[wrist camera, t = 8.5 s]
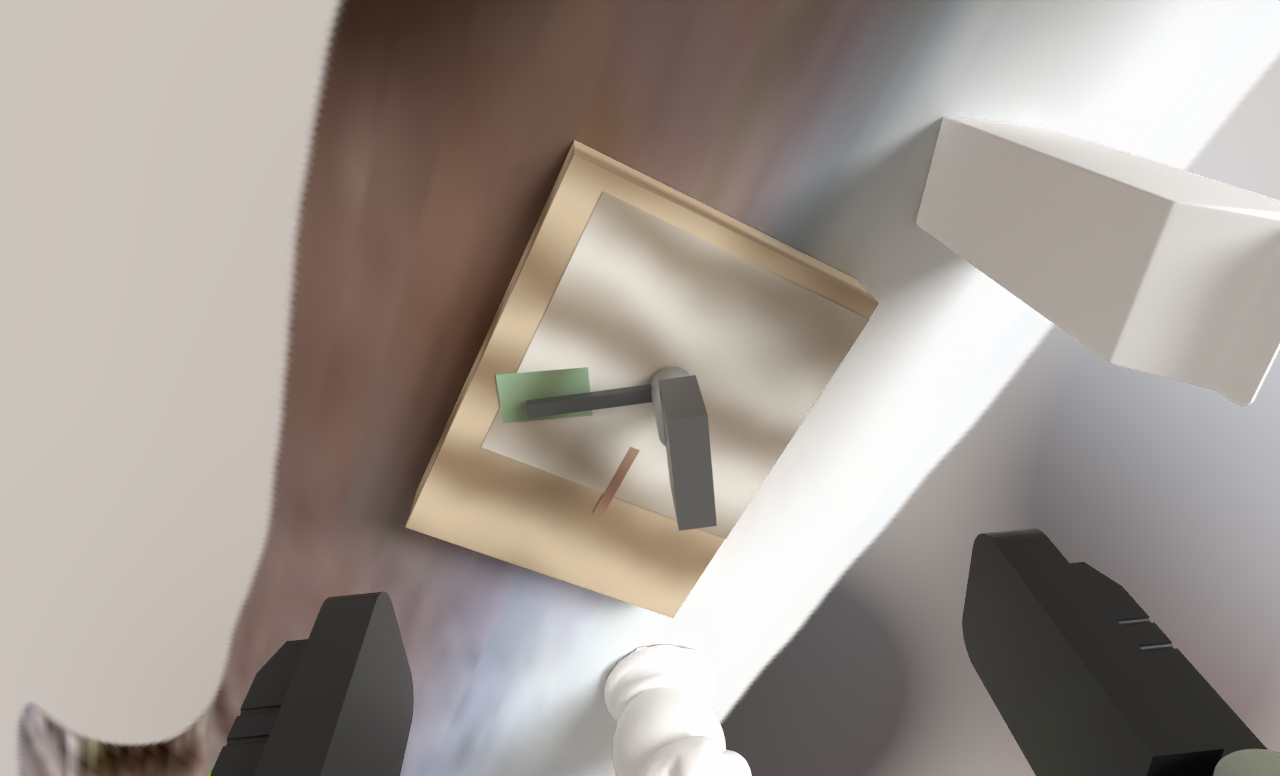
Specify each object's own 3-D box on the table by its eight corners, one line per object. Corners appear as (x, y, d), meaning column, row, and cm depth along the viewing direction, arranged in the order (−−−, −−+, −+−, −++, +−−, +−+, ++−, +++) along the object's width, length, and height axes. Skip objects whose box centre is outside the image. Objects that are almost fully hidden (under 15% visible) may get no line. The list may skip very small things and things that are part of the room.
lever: (688, 333, 43) (714, 413, 35) (697, 430, 46) (723, 525, 38) (517, 356, 43) (505, 441, 35) (536, 451, 46) (528, 551, 38)
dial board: (574, 139, 43) (574, 155, 39) (855, 278, 47) (879, 303, 44) (416, 489, 52) (404, 528, 48) (666, 577, 56) (673, 619, 53)
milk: (913, 224, 46) (1159, 407, 27) (942, 113, 44) (1239, 226, 24) (1014, 233, 47) (1327, 419, 27) (1049, 124, 44) (1424, 243, 25)
